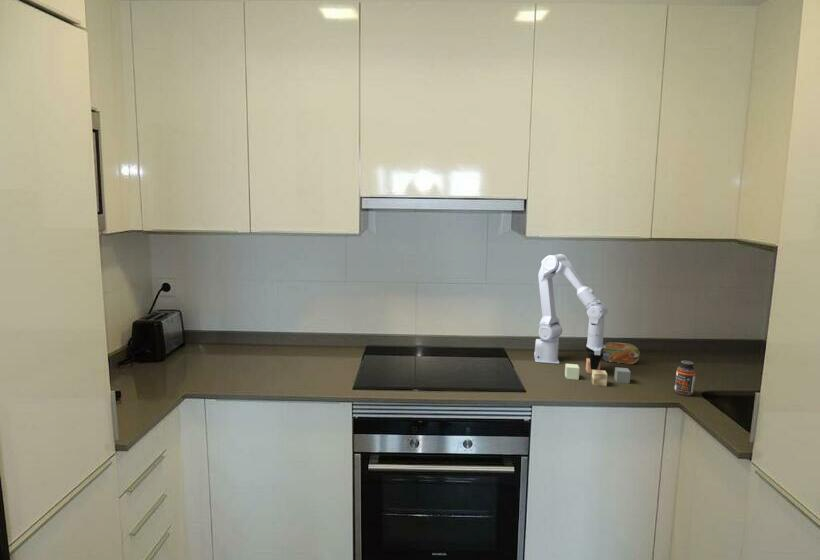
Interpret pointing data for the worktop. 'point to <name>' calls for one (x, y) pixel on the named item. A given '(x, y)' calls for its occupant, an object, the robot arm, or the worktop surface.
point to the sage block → (572, 371)
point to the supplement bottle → (685, 378)
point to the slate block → (622, 375)
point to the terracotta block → (588, 367)
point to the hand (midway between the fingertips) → (592, 367)
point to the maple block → (599, 377)
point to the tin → (620, 353)
